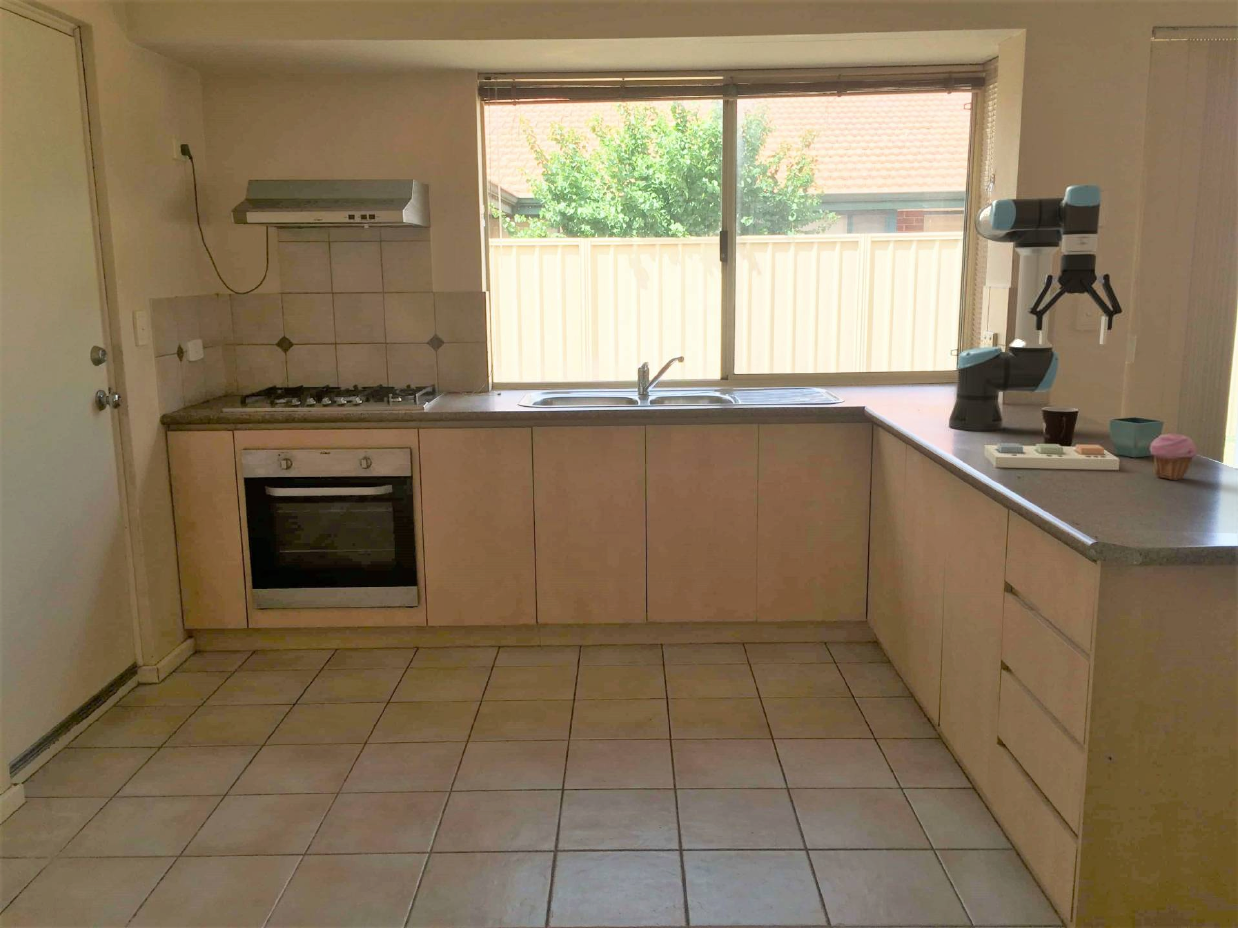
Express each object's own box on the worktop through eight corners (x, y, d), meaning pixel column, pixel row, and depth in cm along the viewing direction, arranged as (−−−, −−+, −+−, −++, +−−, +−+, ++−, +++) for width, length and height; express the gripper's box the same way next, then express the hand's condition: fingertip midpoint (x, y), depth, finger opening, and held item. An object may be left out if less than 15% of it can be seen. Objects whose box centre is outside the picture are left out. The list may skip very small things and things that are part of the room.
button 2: (1035, 454, 240) (1036, 443, 239) (1057, 455, 239) (1058, 444, 238) (1040, 458, 235) (1040, 447, 234) (1062, 458, 234) (1063, 447, 233)
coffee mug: (1045, 443, 262) (1047, 406, 260) (1079, 446, 257) (1082, 408, 255) (1031, 449, 253) (1034, 411, 251) (1066, 453, 248) (1069, 413, 246)
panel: (984, 454, 247) (984, 444, 247) (1099, 457, 242) (1100, 446, 242) (995, 467, 232) (995, 456, 231) (1118, 469, 227) (1119, 458, 226)
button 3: (1075, 455, 238) (1075, 444, 237) (1097, 455, 237) (1098, 444, 236) (1080, 459, 233) (1081, 448, 233) (1103, 459, 232) (1104, 448, 232)
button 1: (996, 453, 241) (997, 443, 241) (1018, 454, 240) (1019, 443, 240) (1000, 457, 237) (1001, 446, 236) (1022, 458, 236) (1023, 447, 235)
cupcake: (1139, 476, 220) (1143, 432, 218) (1166, 472, 223) (1170, 429, 221) (1175, 483, 212) (1179, 438, 210) (1202, 479, 215) (1207, 434, 213)
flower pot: (1105, 454, 246) (1108, 418, 244) (1131, 451, 249) (1134, 416, 247) (1134, 460, 238) (1137, 423, 236) (1161, 457, 241) (1165, 421, 239)
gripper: (1025, 254, 229) (1019, 345, 233) (1141, 252, 224) (1133, 345, 228) (1019, 254, 236) (1013, 343, 241) (1131, 252, 231) (1124, 343, 236)
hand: (1072, 344), depth 234 cm, fingers open, 13 cm apart
